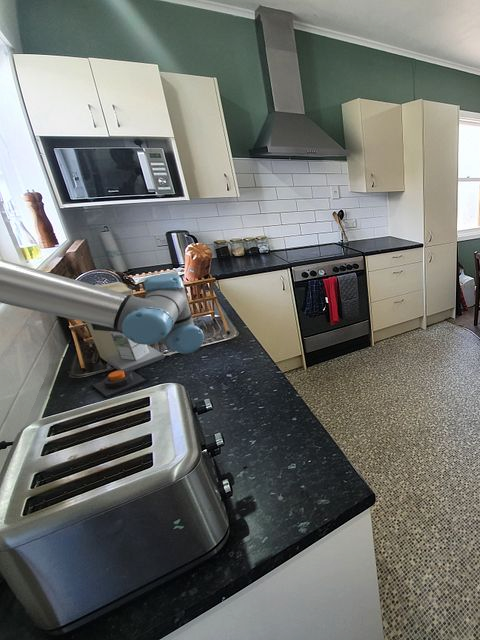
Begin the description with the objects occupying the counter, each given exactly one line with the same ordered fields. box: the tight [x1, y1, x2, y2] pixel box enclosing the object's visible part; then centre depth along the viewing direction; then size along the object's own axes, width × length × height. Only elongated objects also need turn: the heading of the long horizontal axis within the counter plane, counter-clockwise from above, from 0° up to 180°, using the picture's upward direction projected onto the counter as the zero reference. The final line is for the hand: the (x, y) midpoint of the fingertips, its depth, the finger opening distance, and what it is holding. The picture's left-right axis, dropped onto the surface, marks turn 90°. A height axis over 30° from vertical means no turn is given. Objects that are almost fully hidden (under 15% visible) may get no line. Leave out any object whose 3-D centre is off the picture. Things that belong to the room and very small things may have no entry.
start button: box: [107, 370, 125, 381], centre depth 106 cm, size 4×4×2 cm
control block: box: [92, 370, 147, 399], centre depth 106 cm, size 10×10×3 cm
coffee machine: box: [85, 281, 165, 372], centre depth 116 cm, size 12×18×25 cm, turn 58°
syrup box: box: [110, 331, 149, 360], centre depth 116 cm, size 6×6×14 cm
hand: (124, 307), depth 103 cm, fingers open, 13 cm apart
